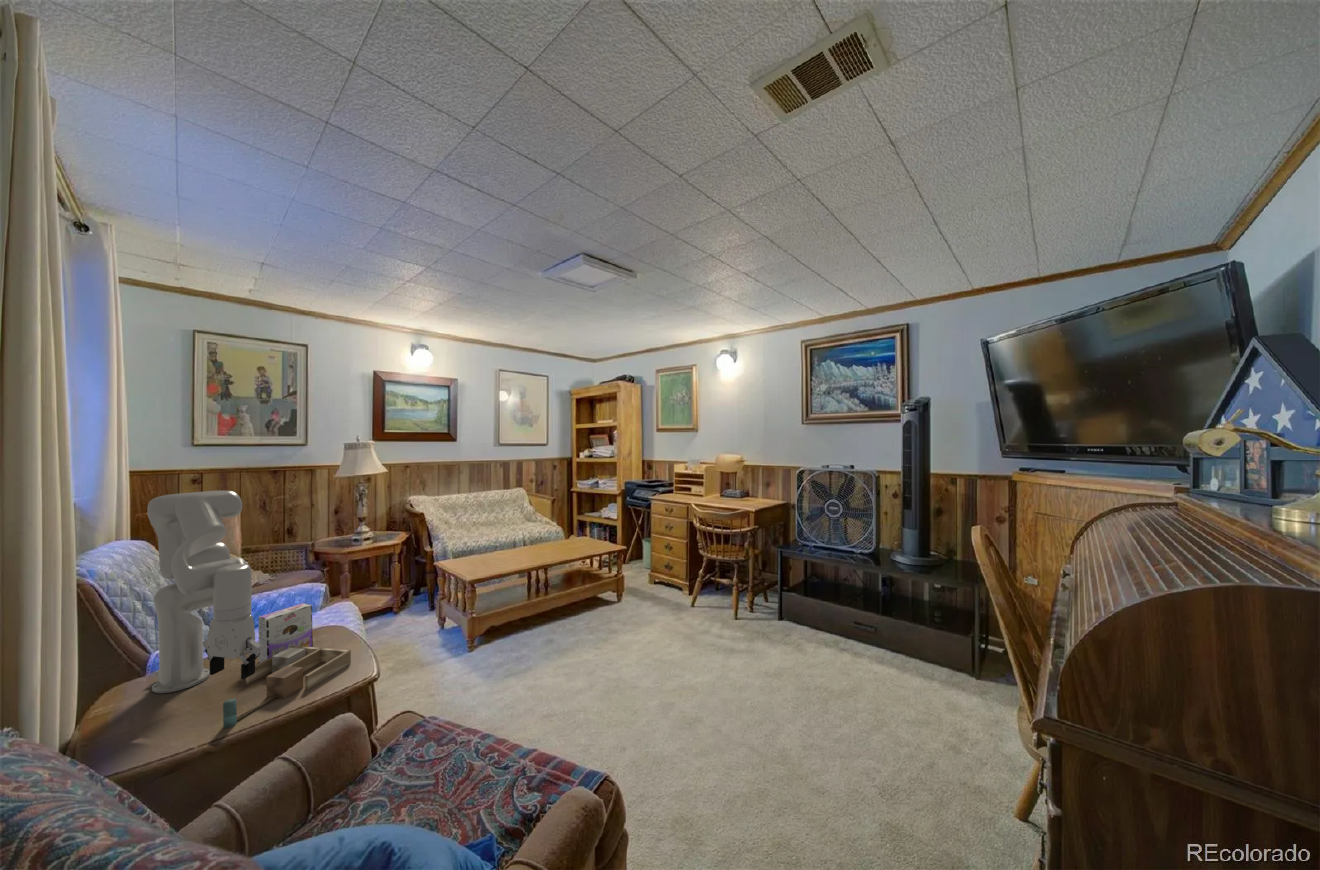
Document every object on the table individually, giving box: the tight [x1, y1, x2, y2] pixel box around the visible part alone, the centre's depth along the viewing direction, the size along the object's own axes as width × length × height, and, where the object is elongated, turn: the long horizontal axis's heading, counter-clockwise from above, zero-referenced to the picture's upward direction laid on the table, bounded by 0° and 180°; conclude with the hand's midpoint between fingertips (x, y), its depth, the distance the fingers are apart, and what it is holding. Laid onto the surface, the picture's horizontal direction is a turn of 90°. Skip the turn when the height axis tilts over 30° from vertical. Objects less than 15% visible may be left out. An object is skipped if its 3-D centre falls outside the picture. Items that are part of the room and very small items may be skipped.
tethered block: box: [222, 666, 304, 729], centre depth 130 cm, size 6×20×7 cm, turn 172°
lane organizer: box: [245, 646, 352, 690], centre depth 148 cm, size 22×16×5 cm
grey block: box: [271, 648, 305, 674], centre depth 149 cm, size 6×6×6 cm
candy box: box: [258, 602, 314, 663], centre depth 159 cm, size 14×6×16 cm, turn 154°
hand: (232, 674), depth 123 cm, fingers open, 9 cm apart
